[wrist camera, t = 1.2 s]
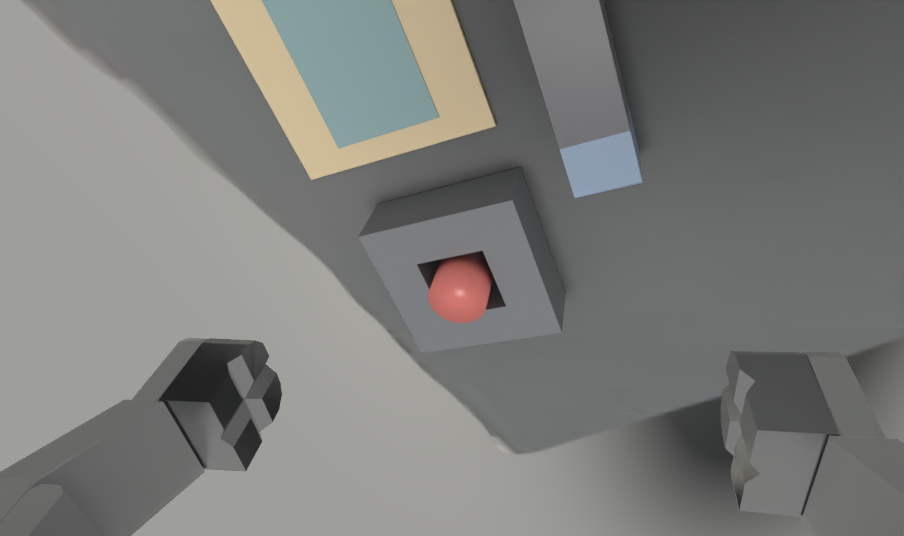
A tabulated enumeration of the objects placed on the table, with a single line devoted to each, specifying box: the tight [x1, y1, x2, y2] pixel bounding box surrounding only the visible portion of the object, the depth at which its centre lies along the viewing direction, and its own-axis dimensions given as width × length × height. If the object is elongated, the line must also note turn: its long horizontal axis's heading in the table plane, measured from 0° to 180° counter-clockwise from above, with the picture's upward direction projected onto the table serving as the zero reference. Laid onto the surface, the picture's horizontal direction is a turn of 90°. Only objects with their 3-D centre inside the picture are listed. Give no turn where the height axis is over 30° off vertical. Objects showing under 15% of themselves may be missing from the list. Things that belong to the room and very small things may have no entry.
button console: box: [359, 167, 565, 353], centre depth 39 cm, size 10×10×4 cm
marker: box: [513, 0, 642, 198], centre depth 30 cm, size 12×4×4 cm, turn 22°
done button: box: [428, 251, 494, 323], centre depth 37 cm, size 4×4×4 cm
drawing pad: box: [211, 0, 496, 180], centre depth 33 cm, size 13×16×1 cm
